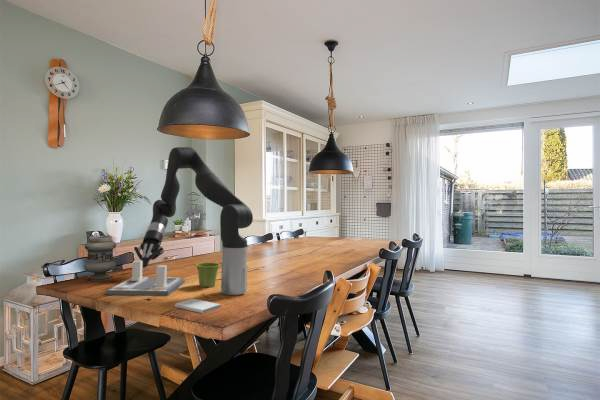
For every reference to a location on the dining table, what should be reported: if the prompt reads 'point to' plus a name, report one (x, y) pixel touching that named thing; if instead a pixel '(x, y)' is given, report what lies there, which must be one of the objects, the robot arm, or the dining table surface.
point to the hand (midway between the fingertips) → (142, 266)
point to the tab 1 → (137, 270)
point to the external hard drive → (197, 305)
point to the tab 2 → (161, 276)
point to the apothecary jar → (100, 257)
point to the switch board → (145, 287)
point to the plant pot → (207, 274)
